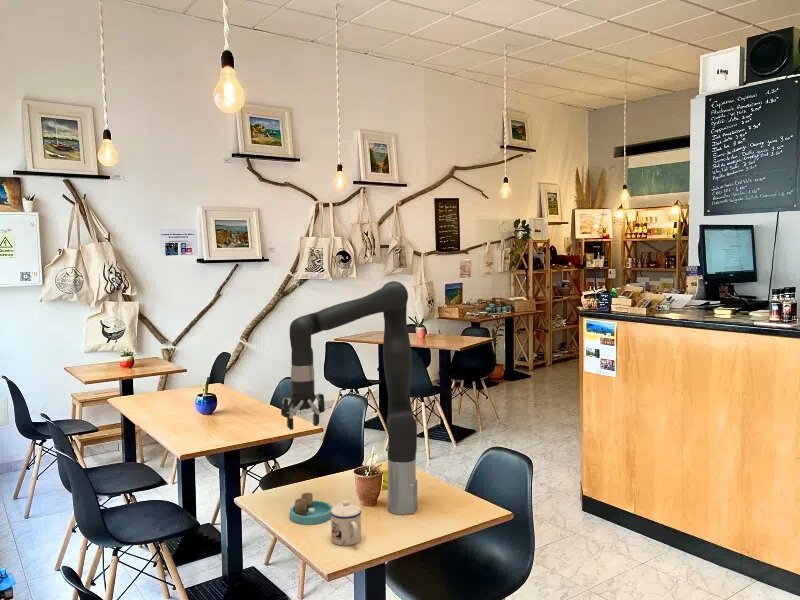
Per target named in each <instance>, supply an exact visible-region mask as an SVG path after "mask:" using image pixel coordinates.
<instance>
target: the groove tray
mask: <svg viewBox="0 0 800 600" xmlns="http://www.w3.org/2000/svg"><path fill="white" fill-rule="evenodd" d="M333 507H334V506H333V505H332V504H331V503H330V502H326V501H323V500H313V508H308V512H307V516H300V515H297V514H295V504H293V505H292V506H291V507H290V508H289V519H290V521H291V522H293V523H295V524H298V525H303V526H304V525H305V526H314V525H319V524H324V523H326V522H328V521H330V520H331V509H332V508H333Z"/></svg>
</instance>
